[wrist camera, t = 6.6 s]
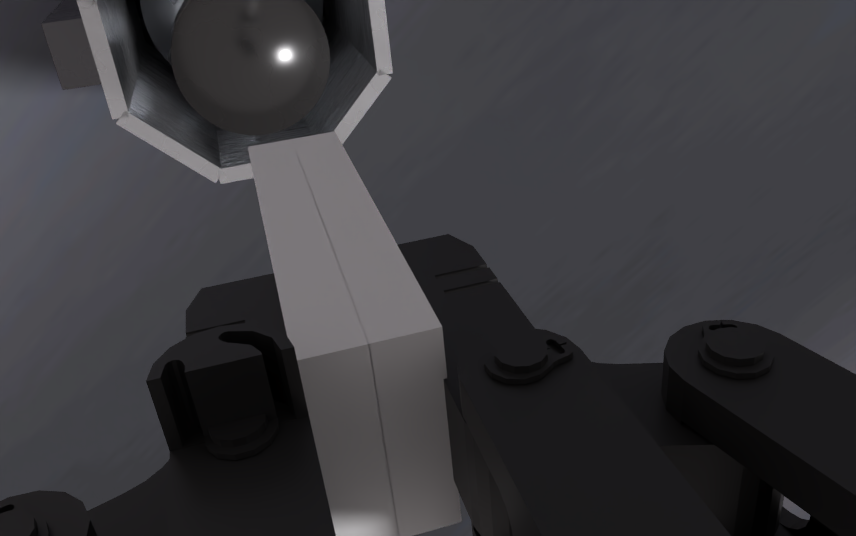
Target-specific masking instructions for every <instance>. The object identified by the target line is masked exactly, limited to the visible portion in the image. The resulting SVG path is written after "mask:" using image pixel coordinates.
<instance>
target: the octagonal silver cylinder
mask: <svg viewBox="0 0 856 536" xmlns="http://www.w3.org/2000/svg"><path fill="white" fill-rule="evenodd" d="M321 24H322V26H323V28H324V31H325V33H326V36H327V40H328V44H329V50H330V70H329V76H328V80H327V83H326V86H325V89H324V91H323V93H322V95H321V97H320V99H319V100H318V102H317V104H316V105H315V106H314V107H313V109H312V110H311V111H310V112H309V113H308V114H307V115H306V116H305V117H304V118H303V119H301V120H300V121H298V122H297V123H296V124H294V125H292V126H290V127H288V128H286V129H284V130H281V131H278V132H275V133H271V134H265V135H243V134H237V133H233V132H230V131H227V130H224V129H222V128H219V127H217V126H215V125H214V124H212V123H210V122H209V121H207V120H206V119H204V118H203V117H202V116H201V115H199V114H198V113H197V112H196V111H195V110H194V109H193V108H192V107H191V105H190V104H189V103H188V102H187V100H186V99H185V97H184V96H183V94H182V93H181V91H180V89H179V87H178V85H177V82H176V79H175V76H174V73H173V69H172V65H171V64H170V63H169V62H168V61H167V60H166V59H165V58H164V57H163V56H162V54H161V53H160V52H159V50H158V49H157V47H156V46H155V44H154V43H153V41H152V39H151V37H150V35H149V33H148V31H147V28H146V25H145V22H144V19H143V15H142V10H141V5H140V0H63V1H62V2H61V3H60V4H59V5H58V6H57V8H56V9H55V10H54V11H53V12H52V13H51V14H50V15H49V16H48V17H47V18H46V19H45V20H44V21H43V22H42V23H41V25H42V28H43V31H44V34H45V37H46V40H47V43H48V46H49V49H50V52H51V55H52V59H53V62H54V65H55V68H56V71H57V74H58V77H59V80H60V83H61V86H62V89H63V90H66V89H72V88H79V87H85V86H92V85H98V84H102V87H103V90H104V93H105V97H106V100H107V103H108V107H109V110H110V113H111V116H112V119H117V122H116V124H117V125H119V126H121V127H122V128H124V129H126V130H127V131H129V132H131V133H132V134H134V135H136V136H137V137H139V138H141V139H142V140H144V141H146V142H147V143H149V144H151V145H152V146H154V147H156V148H158V149H159V150H161V151H163V152H164V153H166V154H168V155H169V156H171V157H173V158H174V159H176V160H178V161H179V162H181V163H183V164H184V165H186V166H188V167H189V168H191V169H193V170H194V171H196V172H198V173H200V174H201V175H203V176H205V177H206V178H208V179H210V180H211V181H213V182H215V183H216V182H217V180H218V179H220V183H221V184H223V183H228V182H234V181H239V180H245V179H250V178H254V176H253V171H252V166H251V161H250V157H249V152H248V147H249V146H255V145H261V144H266V143H272V142H278V141H283V140H289V139H295V138H300V137H306V136H312V135H317V134H323V133H329V132H334V131H335V133H336V135H337V136H338V138H339V140H340V142H341V144H343V143H344V141H345V140H346V139H347V137H348V136H349V135H350V133H351V132H352V131H353V129H354V128H355V127H356V125H357V124H358V123H359V121H360V120H361V118H362V117H363V116H364V114H365V113H366V112H367V110H368V109H369V108H370V106H371V105H372V104H373V102H374V101H375V100H376V98H377V97H378V96H379V94H380V93H381V91H382V90H383V89H384V87H385V86H386V85H387V83H388V82H389V81H390V79H391V77H390V76H389V75H388V74H391V73H393V71H392V62H391V53H390V45H389V36H388V27H387V19H386V10H385V1H384V0H323V16H322V23H321Z"/></svg>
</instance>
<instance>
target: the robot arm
mask: <svg viewBox="0 0 856 536" xmlns="http://www.w3.org/2000/svg"><path fill="white" fill-rule="evenodd" d="M248 152H249V157H250V161H251V166H252V171H253V176H254V180H255V185H256V190H257V195H258V200H259V204H260V209H261V214H262V219H263V223H264V228H265V233H266V238H267V243H268V247H269V252H270V257H271V262H272V266H273V271H274V273H273V274H268V275H264V276H259V277H254V278H249V279H244V280H240V281H235V282H230V283H225V284H221V285H216V286H211V287H206V288H202V289H201V290H200V291H199V293H198V294H197V296H196V297H195V299H194V300H193V301H192V303H191V304H190V306H189V307H188V308H187V310H186V336H187V337H186V339H184V340H183V341H181V342H179V343H177V344H175V345H174V346H172V347H170V348H169V349H168V350H167V351H166V352H165V353H164V354H163V355H162V356H161V357H160V358H159V359H158V360H157V361H156V362H155V363H154V364H153V365H152V368H151V370H150V373H149V375H148V378H147V380H146V382H147V385H148V388H149V391H150V394H151V397H152V400H153V403H154V406H155V409H156V412H157V415H158V418H159V421H160V424H161V426H162V429H163V432H164V435H165V438H166V441H167V444H168V447H169V450H170V459H169V461H168V462H167V463H166V464H165V465H164V466H163V467H162V468H161V469H160V470H159V471H157V472H156V473H155V474H154V475H152V476H151V477H150V478H149V479H147V480H146V481H145V482H143V483H141V484H140V485H138V486H136V487H134V488H133V489H131V490H129V491H127V492H126V493H124V494H122V495H120V496H118V497H116V498H114V499H111V500H109V501H107V502H105V503H103V504H101V505H99V506H97V507H95V508H93V509H91V510H89V511H86V508H85V506H84V504H83V502H82V501H80V500H78V499H77V498H75V497H73V496H71V495H69V494H67V493H66V492H56V491H35V492H30V493H26V494H21V495H17V496H12V497H9V498H6V499H4V500H2V501H0V536H414V535H417V534H421V533H424V532H428V531H431V530H435V529H438V528H442V527H445V526H449V525H452V524H456V523H459V522H462V520H461V510H460V500H459V493H460V496H461V498H462V500H463V503H464V505H465V507H466V510H467V512H468V514H469V516H470V519H471V522H472V532H473V536H856V374H854V373H852V372H850V371H848V370H847V369H845V368H843V367H841V366H839V365H837V364H835V363H834V362H832V361H830V360H828V359H826V358H824V357H822V356H820V355H819V354H817V353H815V352H813V351H811V350H809V349H807V348H806V347H804V346H802V345H800V344H798V343H796V342H794V341H793V340H791V339H789V338H787V337H785V336H783V335H781V334H779V333H777V332H774V331H772V330H769V329H767V328H764V327H762V326H759V325H756V324H751V323H745V322H739V321H734V320H714V321H703V322H699V323H695V324H692V325H688V326H685V327H683V328H682V329H680V330H679V331H677V332H676V333H675V334H673V335H672V336H670V338H669V340H668V343H667V345H666V348H665V350H664V362H663V363H642V364H604V363H595V362H591V361H590V360H589V359H588V357H587V356H586V355H585V354H584V352H583V351H582V350H581V349H580V348H579V347H578V346H576V345H575V344H574V343H573V342H571V341H570V340H569V339H568V338H566V337H564V336H561V335H558V334H555V333H553V332H550V331H547V330H541V329H535V328H534V327H533V326H532V324H531V323H530V322H529V320H528V319H527V318H526V316H525V315H524V314H523V312H522V311H521V310H520V308H519V307H518V306H517V304H516V303H515V302H514V300H513V299H512V297H511V296H510V295H509V293H508V292H507V291H506V289H505V288H504V287H503V285H502V284H501V283H500V282H499V283H498V280H497V277H496V276H495V275H494V273H493V272H492V271H491V269H490V268H487V264H486V263H485V261H484V260H483V259H482V257H481V256H480V255H479V253H478V252H477V251H476V249H475V248H474V247H473V246H471V245H469V244H467V243H465V242H463V241H461V240H459V239H457V238H455V237H453V236H451V235H449V234H447V235H442V236H437V237H433V238H428V239H423V240H418V241H413V242H409V243H404V244H399V245H397V244H396V242H395V240H394V238H393V236H392V235H391V233H390V231H389V229H388V227H387V225H386V224H385V222H384V220H383V218H382V216H381V215H380V213H379V211H378V209H377V207H376V205H375V204H374V202H373V200H372V198H371V196H370V195H369V193H368V191H367V189H366V187H365V185H364V184H363V182H362V180H361V178H360V176H359V175H358V173H357V171H356V169H355V167H354V165H353V164H352V162H351V160H350V158H349V156H348V155H347V153H346V151H345V149H344V147H343V145H342V144H341V142H340V140H339V138H338V136H337V135H336V133H335V131H334V132H329V133H323V134H317V135H312V136H306V137H300V138H295V139H289V140H283V141H278V142H272V143H266V144H261V145H255V146H249V147H248ZM784 496H785V497H787V498H788V499H789V500H791V501H792V502H793V503H795V504H796V505H798V506H799V507H800V508H802V509H803V510H804V511H806V512H807V513H808V514H810V520H805V519H801V518H799V517H797V516H796V515H794V514H792V513H790V512H789V511H788V510H786V509H785V508H784V507H782V505H783V500H784Z"/></svg>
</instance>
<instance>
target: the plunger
mask: <svg viewBox="0 0 856 536" xmlns="http://www.w3.org/2000/svg"><path fill="white" fill-rule="evenodd" d="M140 5H141V10H142V15H143V19H144V22H145V25H146V28H147V31H148V33H149V35H150V37H151V39H152V41H153V43H154V44H155V46H156V47H157V49H158V50H159V52H160V53H161V54H162V56H163V57H164V58H165V59H166V60H167V61H168V62H169V63H170V64H171V65H172V69H173V73H174V76H175V79H176V82H177V85H178V87H179V89H180V91H181V93H182V94H183V96H184V97H185V99H186V100H187V102H188V103H189V104H190V105H191V107H192V108H193V109H194V110H195V111H196V112H197V113H198V114H199V115H201V116H202V117H203V118H204V119H206V120H207V121H209V122H210V123H212V124H214V125H215V126H217V127H219V128H222V129H224V130H227V131H230V132H233V133H237V134H243V135H265V134H271V133H275V132H278V131H281V130H284V129H286V128H288V127H290V126H292V125H294V124H296V123H297V122H298V121H300V120H301V119H303V118H304V117H305V116H306V115H307V114H308V113H309V112H310V111H311V110H312V109H313V107H314V106H315V105H316V104H317V102H318V100H319V99H320V97H321V95H322V93H323V91H324V89H325V86H326V83H327V80H328V76H329V70H330V50H329V44H328V40H327V36H326V33H325V31H324V28H323V26H322V24H321V23H322V16H323V0H140Z"/></svg>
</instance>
